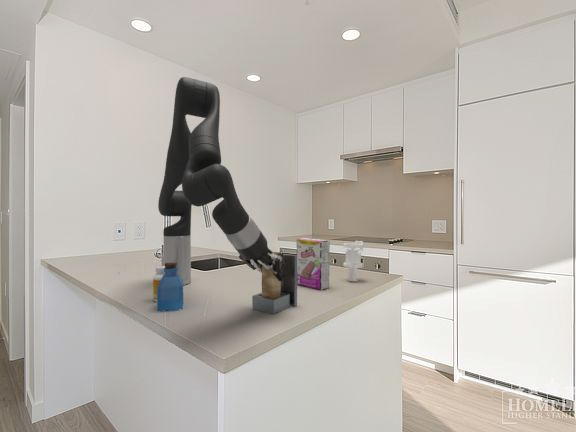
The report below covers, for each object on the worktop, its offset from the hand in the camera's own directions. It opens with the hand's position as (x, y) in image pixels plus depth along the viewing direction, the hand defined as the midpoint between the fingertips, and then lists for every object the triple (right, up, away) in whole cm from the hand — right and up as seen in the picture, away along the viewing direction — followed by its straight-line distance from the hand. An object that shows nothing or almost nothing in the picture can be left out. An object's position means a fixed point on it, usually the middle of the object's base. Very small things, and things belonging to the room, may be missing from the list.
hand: (275, 277), depth 87 cm
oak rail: (-1, -6, -2) cm, 6 cm away
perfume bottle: (-29, -8, -1) cm, 30 cm away
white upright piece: (+28, -8, +31) cm, 42 cm away
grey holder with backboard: (-1, -8, 0) cm, 8 cm away
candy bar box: (+12, -8, +22) cm, 27 cm away
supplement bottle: (-33, -8, +7) cm, 35 cm away
